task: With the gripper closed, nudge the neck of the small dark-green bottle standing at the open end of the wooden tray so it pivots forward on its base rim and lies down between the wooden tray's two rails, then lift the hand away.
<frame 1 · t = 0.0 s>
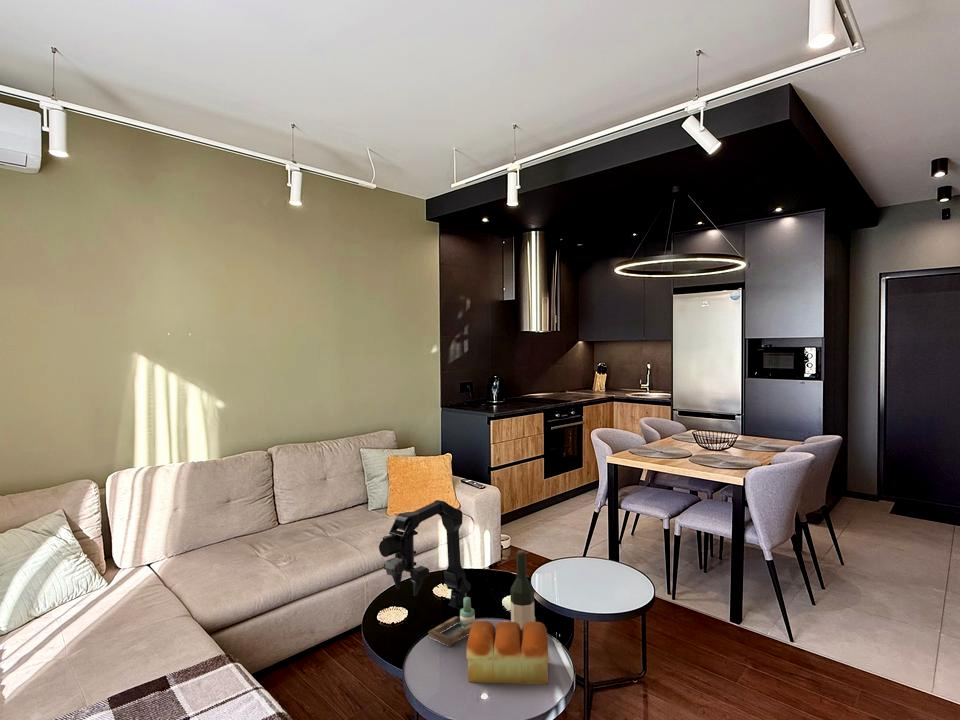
hand: (406, 592, 191), 15 cm above the table, fingers open, 9 cm apart
bread: (508, 673, 165), on the table
wine bottle: (523, 636, 187), on the table
wooden tray: (454, 633, 190), on the table
bottle: (467, 625, 195), on the table
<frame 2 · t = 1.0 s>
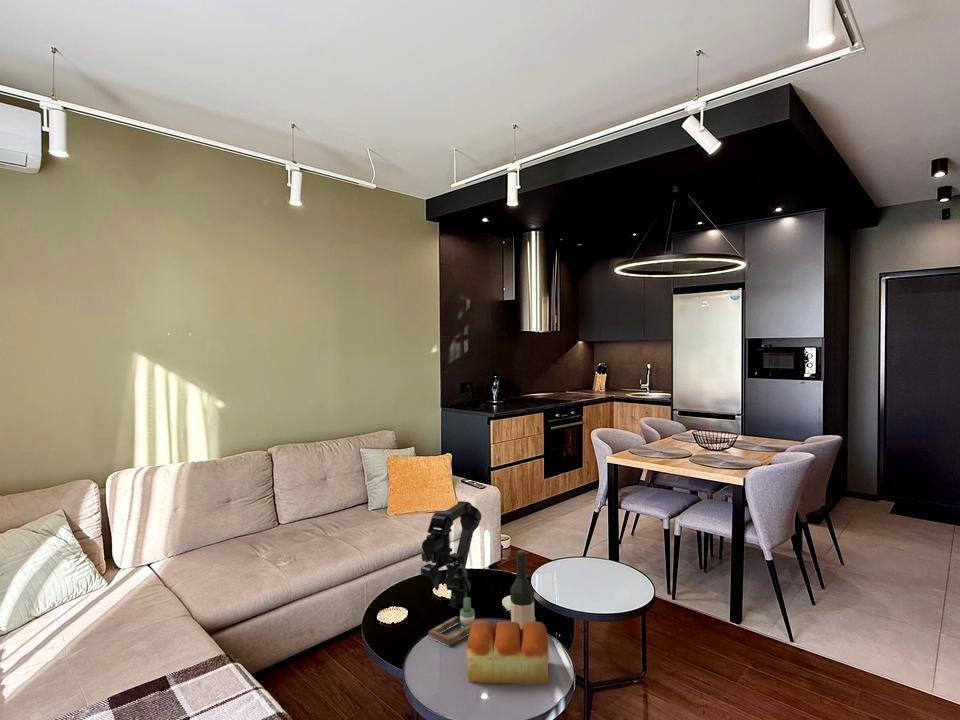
hand: (443, 586, 202), 12 cm above the table, fingers open, 7 cm apart
nothing on the table moved.
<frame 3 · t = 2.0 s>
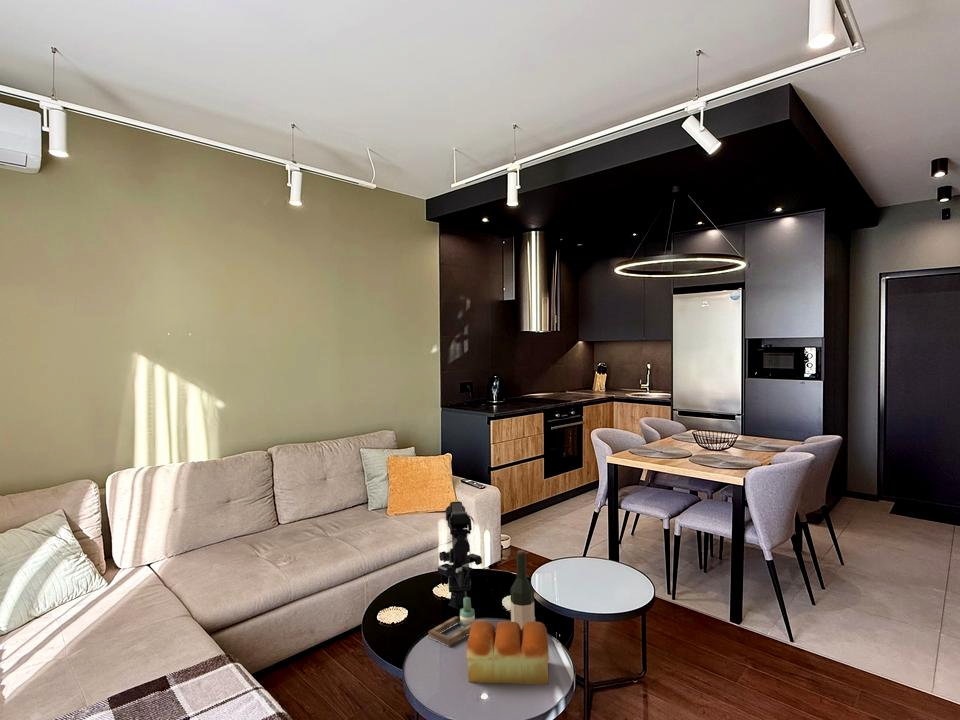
hand: (460, 587, 201), 12 cm above the table, fingers closed
nothing on the table moved.
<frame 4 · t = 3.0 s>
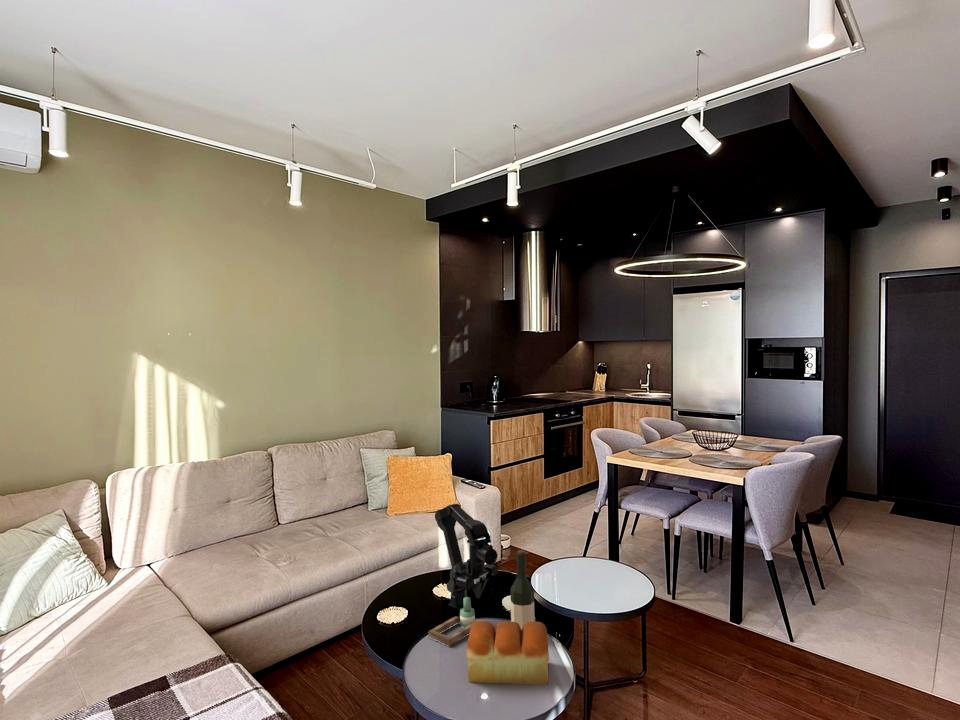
hand: (477, 598, 200), 8 cm above the table, fingers closed
nothing on the table moved.
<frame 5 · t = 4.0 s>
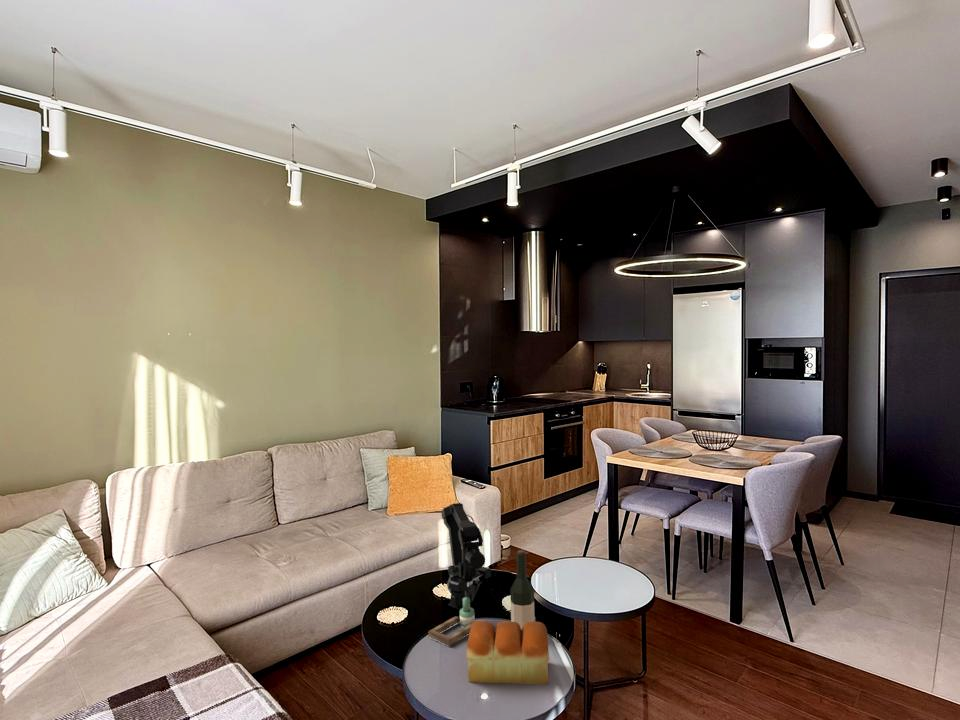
hand: (470, 601, 197), 8 cm above the table, fingers closed
bottle: (467, 625, 195), on the table, touching gripper
everything else where it was.
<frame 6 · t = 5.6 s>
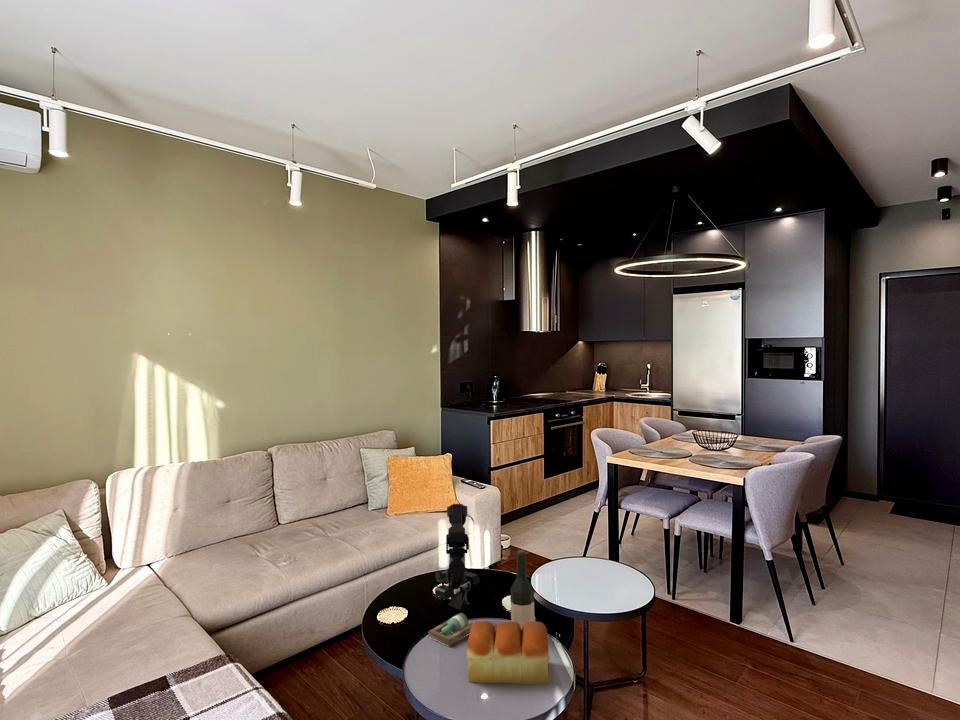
hand: (458, 608, 192), 8 cm above the table, fingers closed
bottle: (462, 620, 193), point 3 cm above the table, tilted 91°
everything else where it was.
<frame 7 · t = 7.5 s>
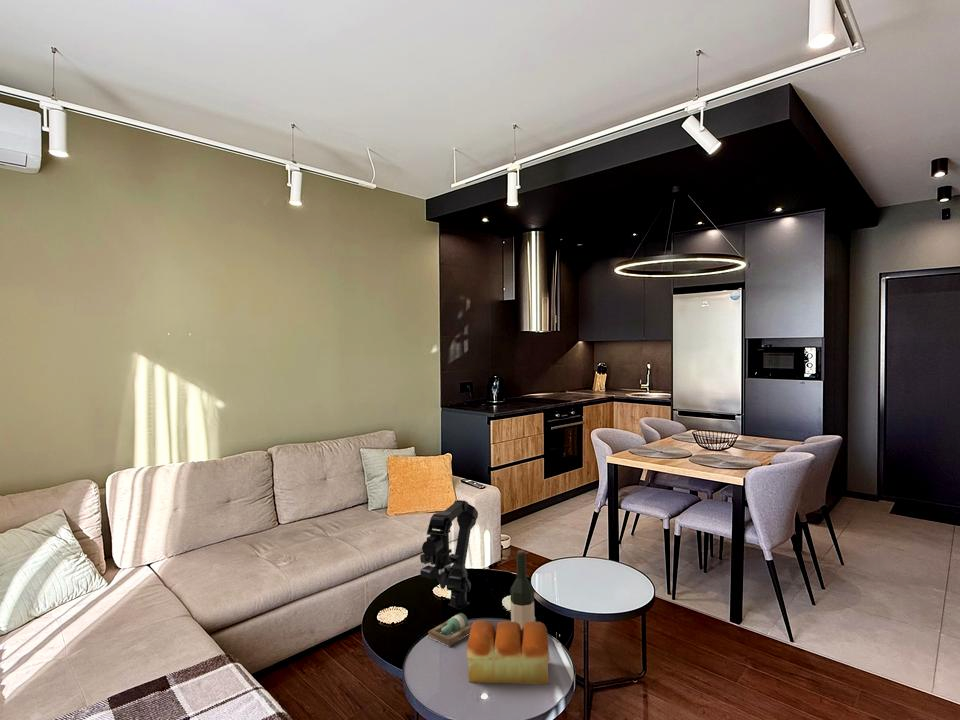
hand: (442, 588, 200), 12 cm above the table, fingers closed
nothing on the table moved.
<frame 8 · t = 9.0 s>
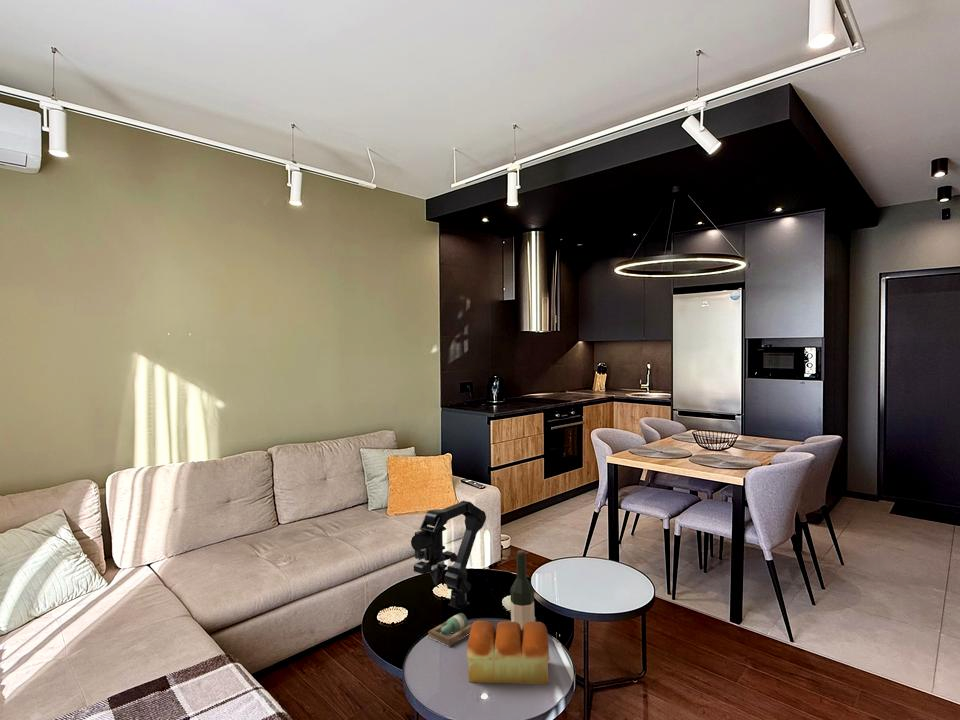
hand: (436, 584, 203), 13 cm above the table, fingers closed
nothing on the table moved.
at the end: bottle tilted 90°; bottle inside the target area on the wooden tray (1.0 cm from its centre), point 2.7 cm above the wooden tray's base; the gripper is holding nothing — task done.
